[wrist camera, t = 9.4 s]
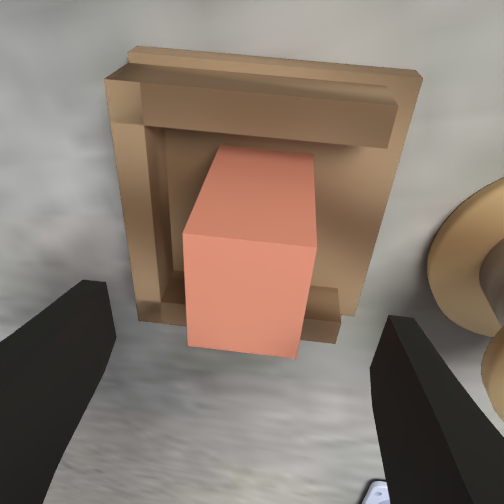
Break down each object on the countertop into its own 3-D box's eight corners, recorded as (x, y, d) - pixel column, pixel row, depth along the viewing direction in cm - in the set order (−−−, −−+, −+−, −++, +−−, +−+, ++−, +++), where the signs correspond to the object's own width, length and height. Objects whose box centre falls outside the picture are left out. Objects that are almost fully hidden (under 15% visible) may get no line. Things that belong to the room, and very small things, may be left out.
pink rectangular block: (298, 248, 17) (295, 358, 12) (218, 240, 17) (187, 345, 12) (313, 154, 14) (316, 247, 10) (219, 145, 14) (182, 233, 10)
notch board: (352, 300, 19) (358, 351, 17) (159, 279, 20) (139, 325, 17) (415, 70, 13) (440, 98, 11) (137, 45, 14) (102, 67, 11)
